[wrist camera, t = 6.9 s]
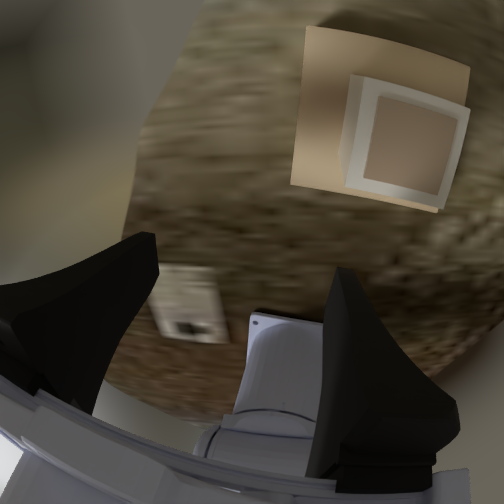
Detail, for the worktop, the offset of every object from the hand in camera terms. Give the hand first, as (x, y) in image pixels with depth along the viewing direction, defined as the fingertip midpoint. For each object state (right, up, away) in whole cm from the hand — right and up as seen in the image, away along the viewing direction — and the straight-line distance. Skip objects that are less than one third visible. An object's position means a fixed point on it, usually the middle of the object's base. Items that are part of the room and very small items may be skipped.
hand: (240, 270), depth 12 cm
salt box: (+7, +7, +2) cm, 11 cm away
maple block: (+8, +9, +5) cm, 13 cm away
